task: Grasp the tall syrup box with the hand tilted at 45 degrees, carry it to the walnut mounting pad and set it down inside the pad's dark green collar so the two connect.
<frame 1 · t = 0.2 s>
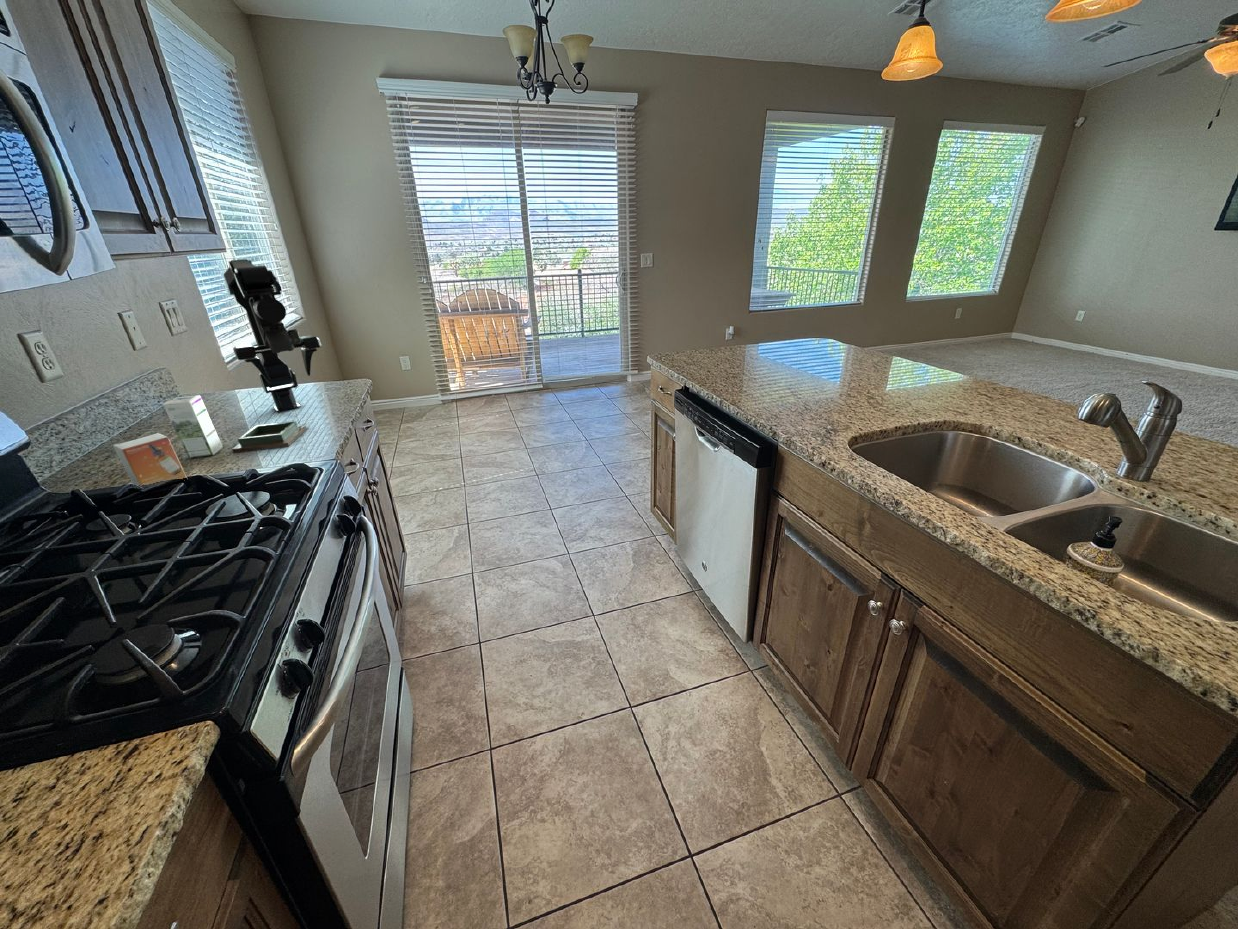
hand: (289, 379, 130), 15 cm above the worktop, tool pointing down, fingers open, 9 cm apart
small box: (162, 484, 108), on the worktop
syrup box: (206, 453, 124), on the worktop
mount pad: (271, 440, 130), on the worktop
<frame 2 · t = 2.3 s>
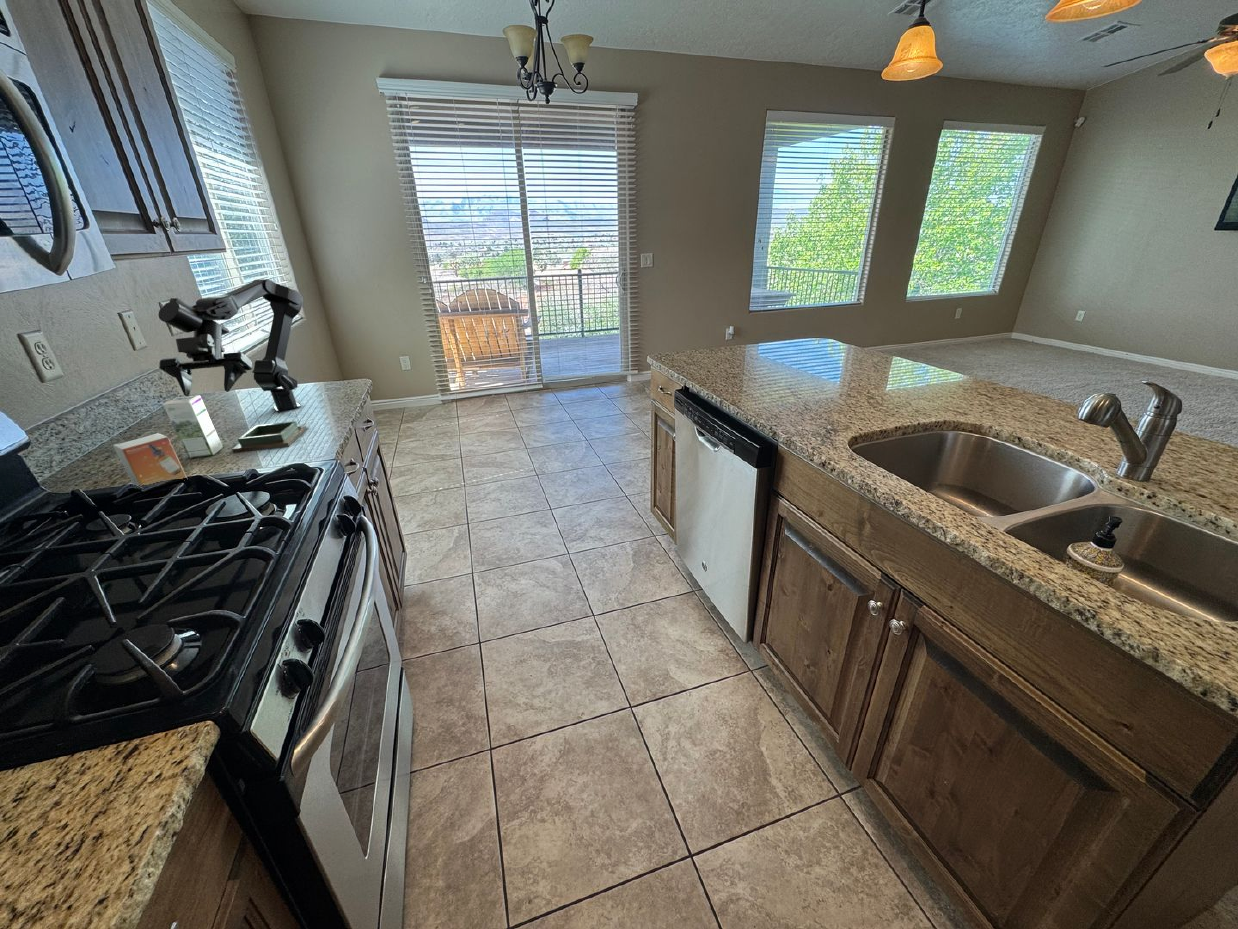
hand: (206, 393, 125), 13 cm above the worktop, tool tilted 40°, fingers open, 9 cm apart
nothing on the worktop moved.
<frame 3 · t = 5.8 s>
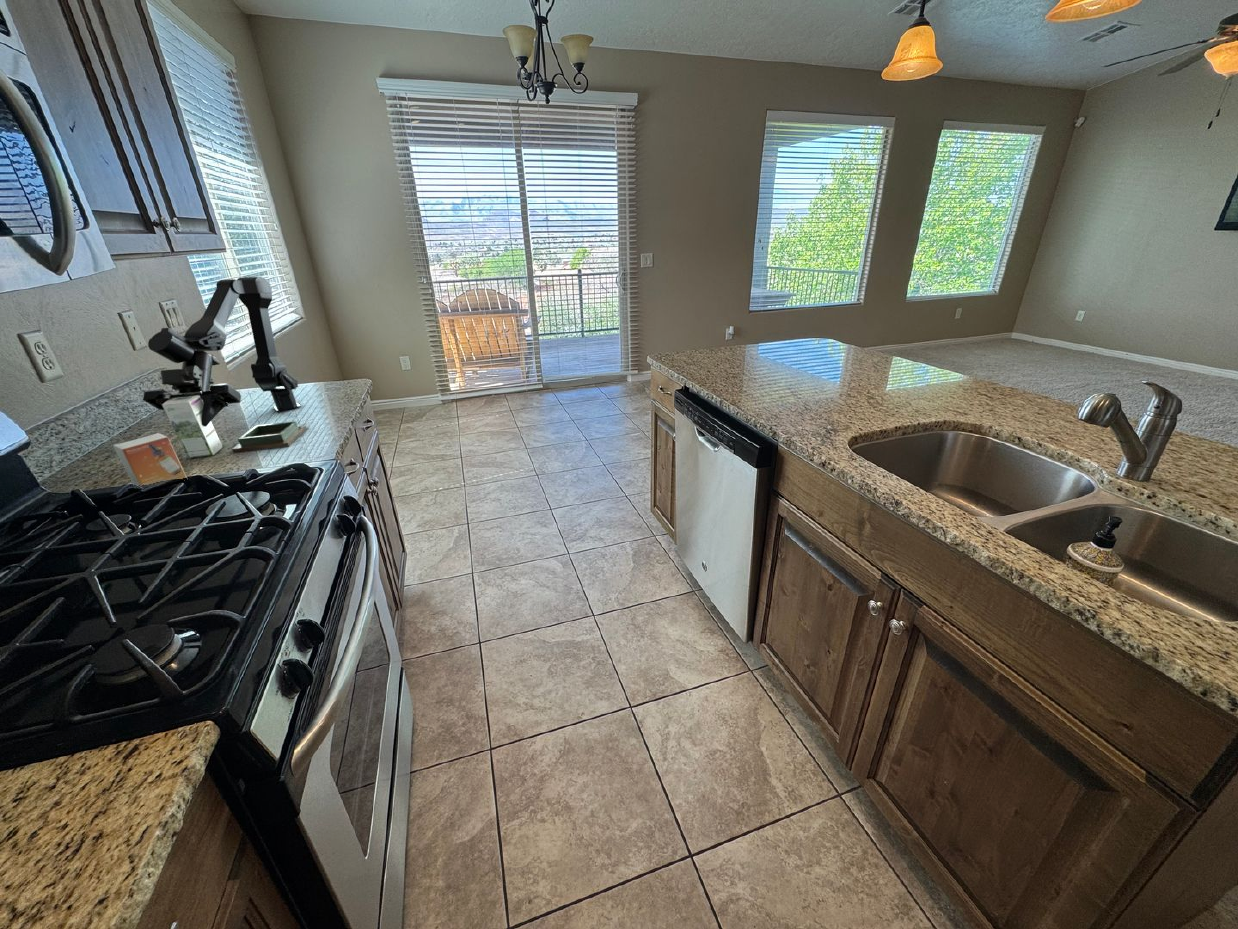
hand: (190, 427, 119), 8 cm above the worktop, tool tilted 45°, fingers closed on syrup box, 6 cm apart
syrup box: (206, 453, 124), on the worktop, touching gripper
everything else where it was.
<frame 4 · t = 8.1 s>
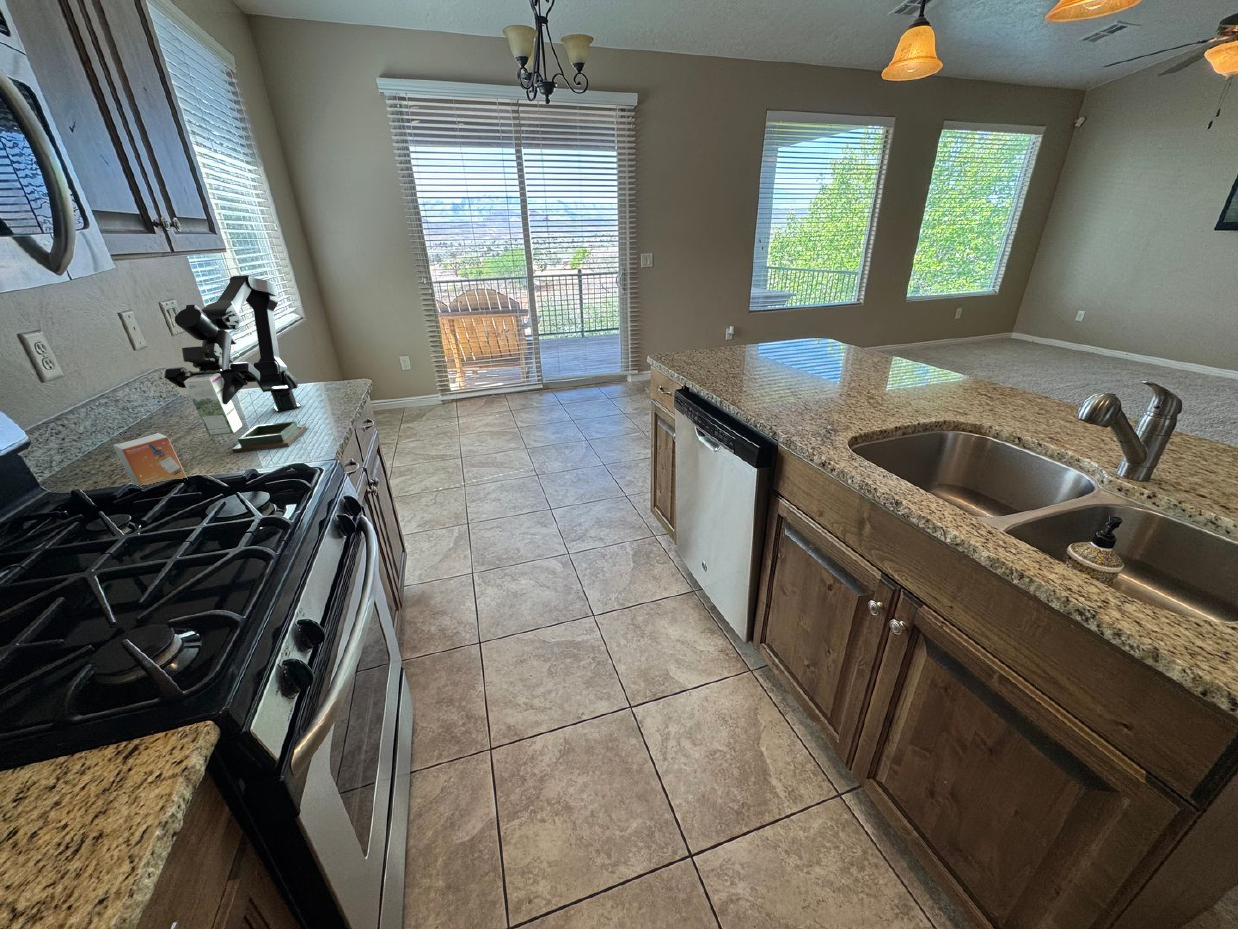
hand: (211, 404, 120), 12 cm above the worktop, tool tilted 45°, fingers closed on syrup box, 6 cm apart
syrup box: (226, 431, 125), point 4 cm above the worktop, touching gripper
everything else where it was.
when the fingers open (9 cm above the worktop, at t = 11.0 s): syrup box stays where it is, resting on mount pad.
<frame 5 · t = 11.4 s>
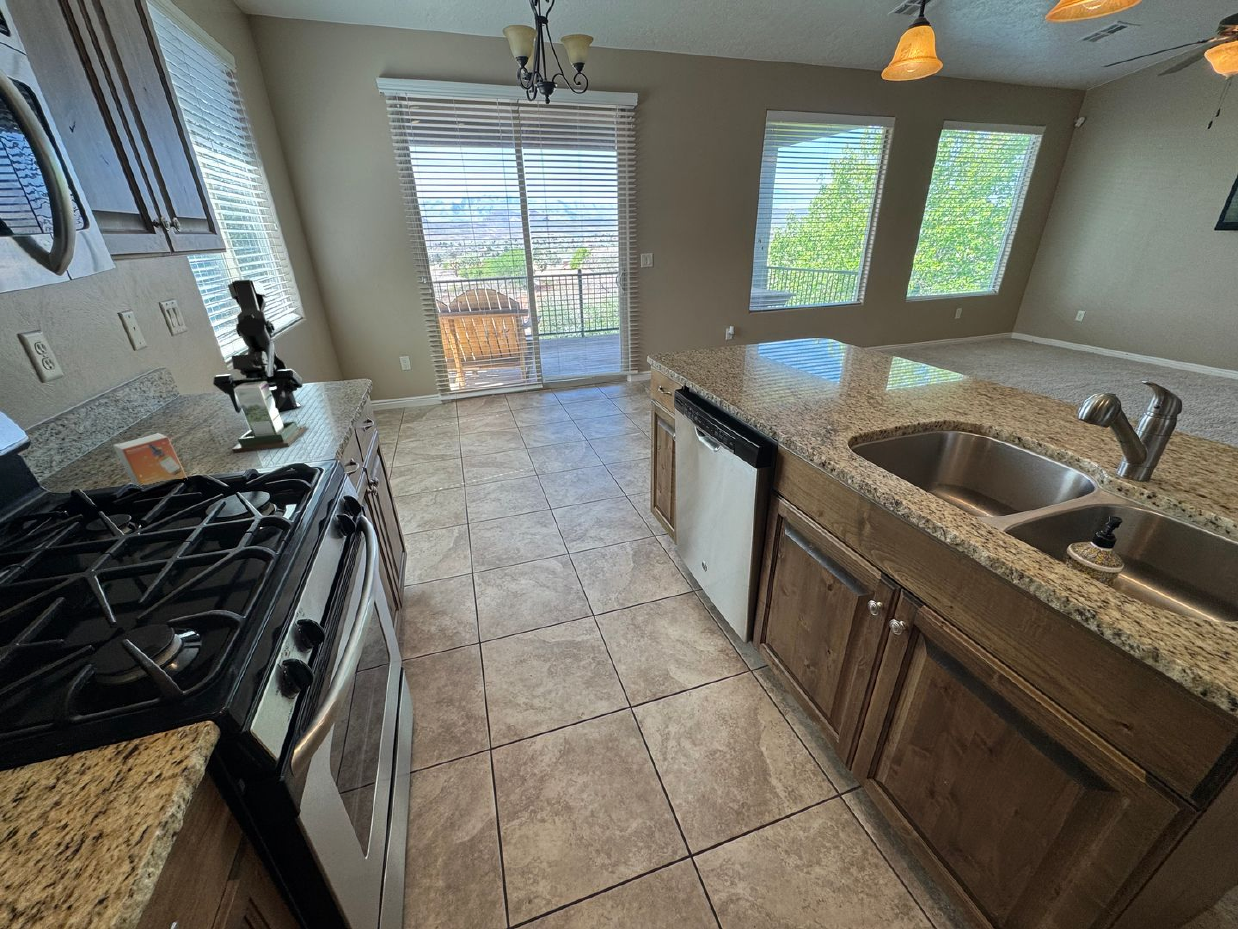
hand: (257, 410, 125), 9 cm above the worktop, tool tilted 45°, fingers open, 9 cm apart
syrup box: (271, 437, 130), point 1 cm above the worktop, touching gripper, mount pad
everything else where it was.
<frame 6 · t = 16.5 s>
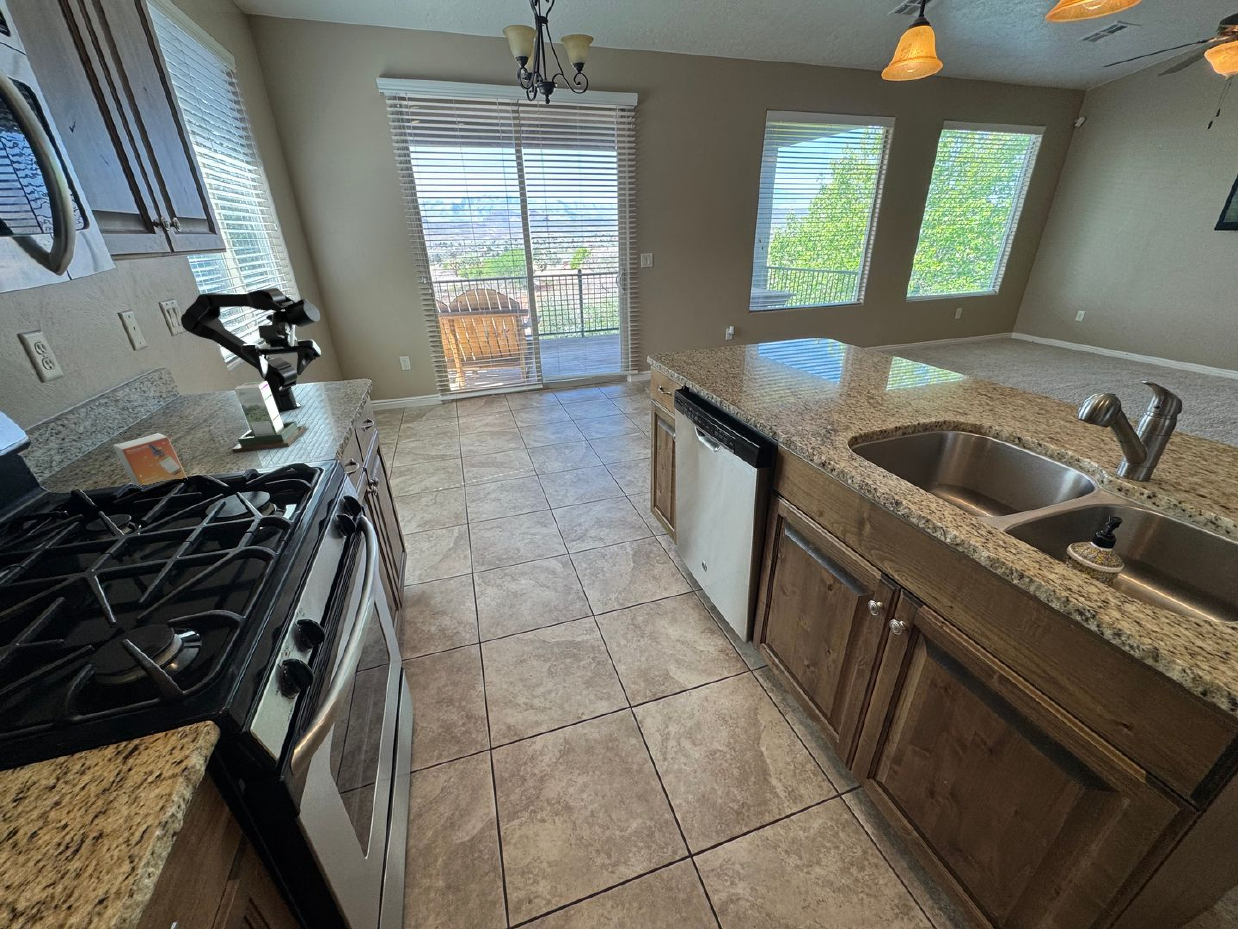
hand: (280, 376, 138), 14 cm above the worktop, tool tilted 45°, fingers open, 9 cm apart
syrup box: (271, 437, 130), point 1 cm above the worktop, touching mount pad
everything else where it was.
at the end: syrup box 0.2 cm off-centre on the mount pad, point 0.8 cm above the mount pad's base; syrup box tilted 0°; the gripper is holding nothing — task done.
